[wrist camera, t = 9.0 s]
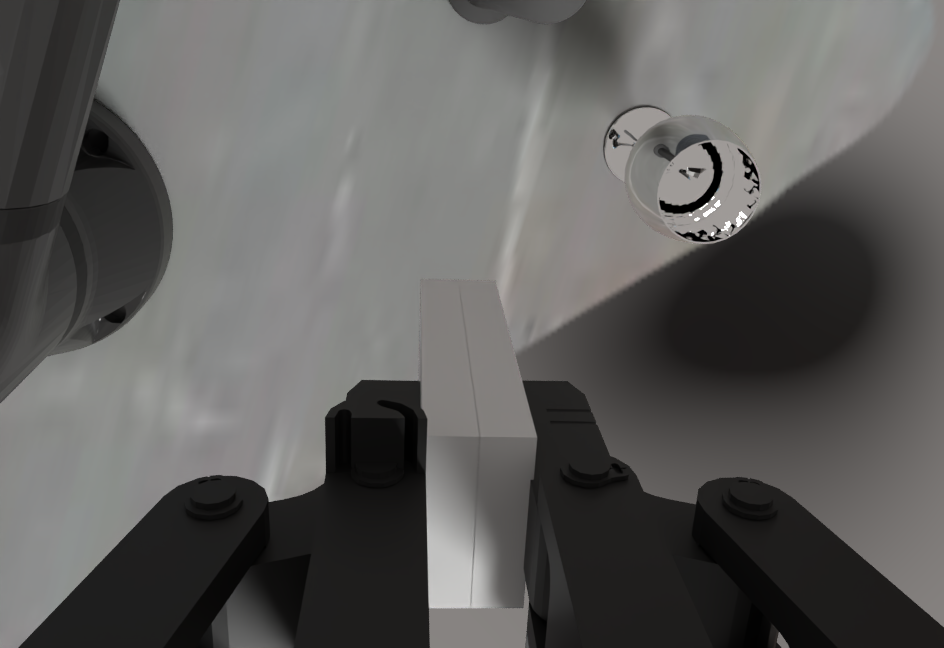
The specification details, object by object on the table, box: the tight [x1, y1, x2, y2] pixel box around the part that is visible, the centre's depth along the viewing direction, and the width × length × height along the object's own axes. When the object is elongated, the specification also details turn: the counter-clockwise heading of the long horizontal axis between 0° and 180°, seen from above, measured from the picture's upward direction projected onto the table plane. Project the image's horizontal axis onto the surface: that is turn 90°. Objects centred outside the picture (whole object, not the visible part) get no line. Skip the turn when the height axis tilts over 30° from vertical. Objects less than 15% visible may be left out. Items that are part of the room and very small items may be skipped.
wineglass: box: [604, 107, 761, 244], centre depth 43 cm, size 6×6×12 cm
